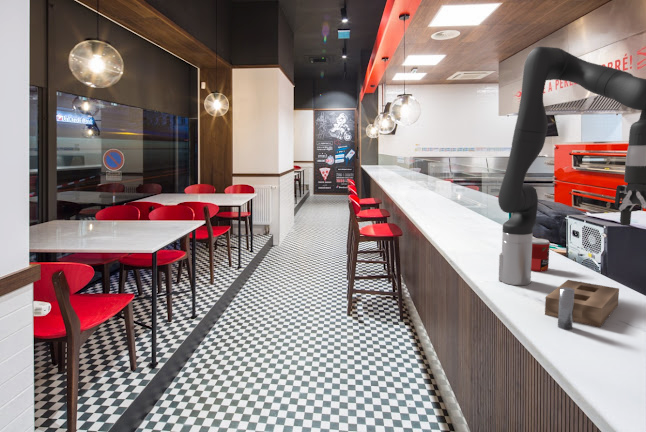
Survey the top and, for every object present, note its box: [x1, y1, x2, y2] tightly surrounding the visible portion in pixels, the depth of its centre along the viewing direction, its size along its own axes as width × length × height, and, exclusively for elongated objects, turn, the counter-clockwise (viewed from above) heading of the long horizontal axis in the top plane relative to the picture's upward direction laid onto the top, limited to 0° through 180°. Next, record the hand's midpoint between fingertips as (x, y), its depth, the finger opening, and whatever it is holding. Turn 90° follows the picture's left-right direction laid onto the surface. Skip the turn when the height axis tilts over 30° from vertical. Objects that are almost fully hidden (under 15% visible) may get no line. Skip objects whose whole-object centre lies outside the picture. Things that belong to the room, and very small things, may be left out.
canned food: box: [531, 237, 551, 273], centre depth 157 cm, size 8×8×11 cm
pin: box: [557, 287, 574, 331], centre depth 106 cm, size 3×3×10 cm
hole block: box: [544, 279, 620, 328], centre depth 117 cm, size 13×20×5 cm, turn 135°
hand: (638, 228), depth 106 cm, fingers open, 8 cm apart
